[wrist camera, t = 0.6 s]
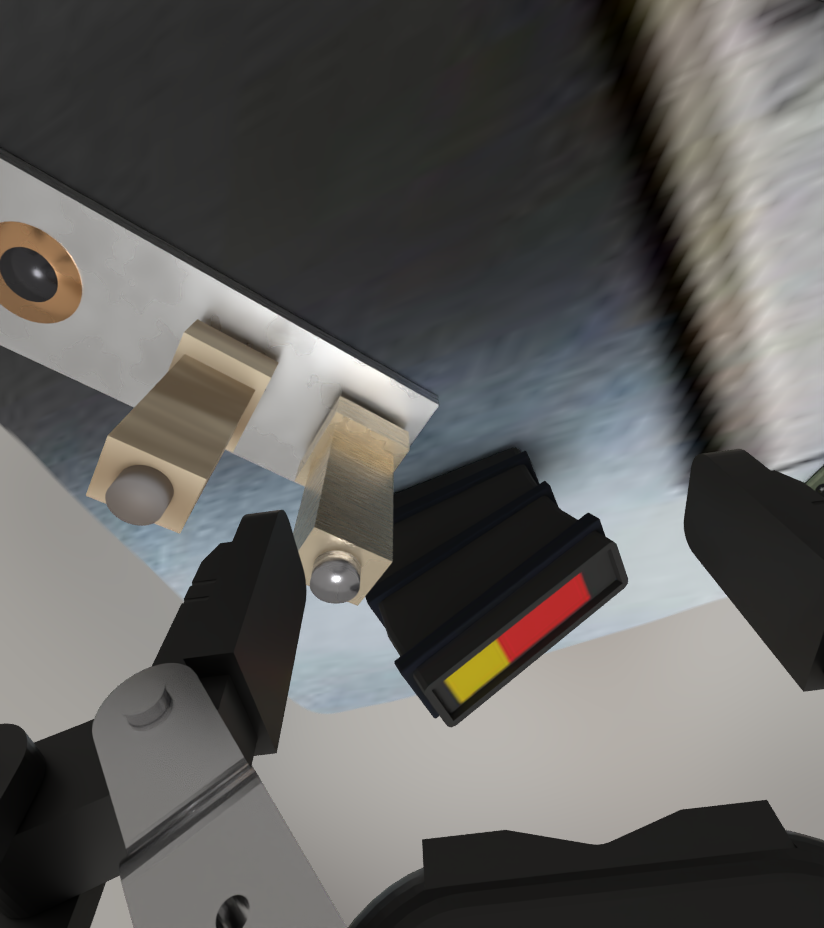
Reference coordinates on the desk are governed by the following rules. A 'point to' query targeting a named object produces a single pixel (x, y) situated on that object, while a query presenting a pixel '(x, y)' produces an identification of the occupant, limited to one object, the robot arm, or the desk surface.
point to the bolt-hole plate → (235, 314)
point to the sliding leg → (181, 429)
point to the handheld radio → (817, 482)
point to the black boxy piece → (487, 580)
